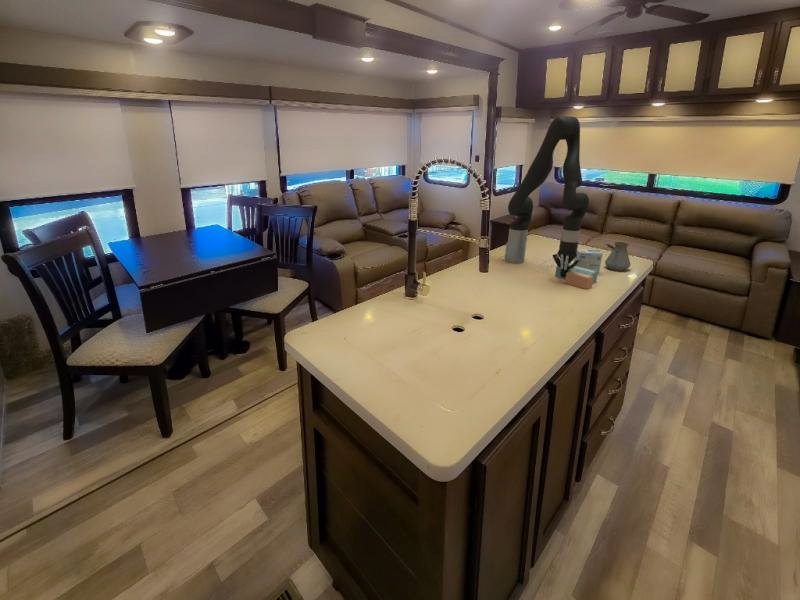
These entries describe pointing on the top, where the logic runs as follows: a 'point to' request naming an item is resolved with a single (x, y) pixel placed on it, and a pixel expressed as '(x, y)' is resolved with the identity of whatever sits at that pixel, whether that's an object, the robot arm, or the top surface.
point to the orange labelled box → (579, 279)
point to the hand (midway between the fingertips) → (563, 276)
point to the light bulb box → (589, 259)
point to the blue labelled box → (578, 269)
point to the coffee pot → (618, 257)
